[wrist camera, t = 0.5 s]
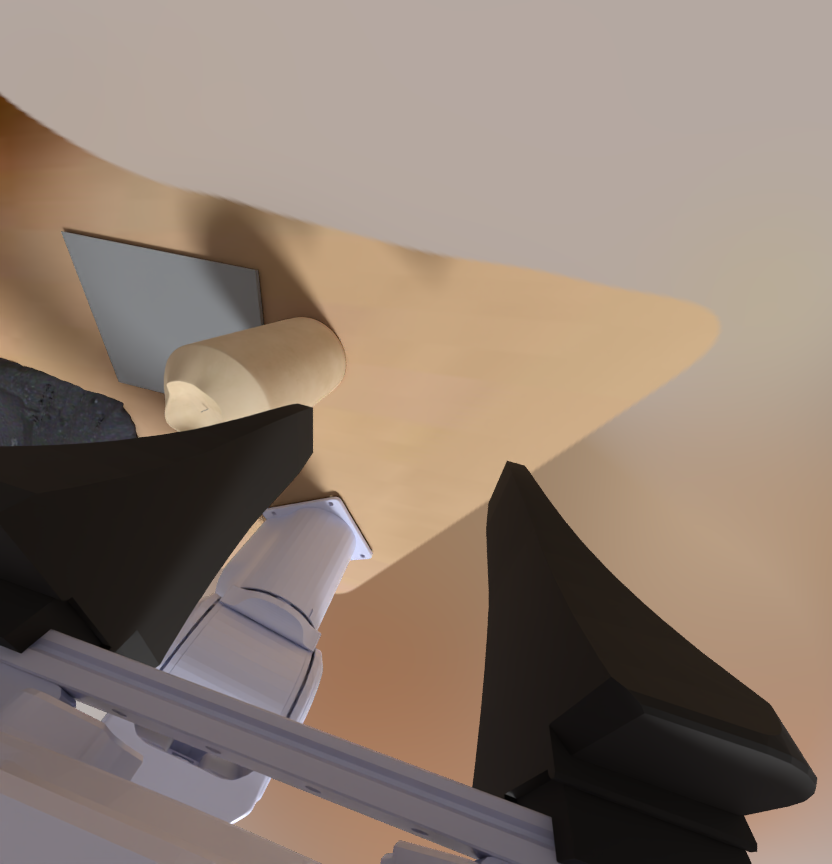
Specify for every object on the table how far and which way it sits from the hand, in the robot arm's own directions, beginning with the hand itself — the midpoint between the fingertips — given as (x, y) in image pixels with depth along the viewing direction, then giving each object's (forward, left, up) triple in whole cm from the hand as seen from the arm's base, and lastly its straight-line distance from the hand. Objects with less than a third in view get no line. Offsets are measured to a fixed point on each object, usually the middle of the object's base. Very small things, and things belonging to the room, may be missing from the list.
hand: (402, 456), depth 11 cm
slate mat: (-18, +9, -10) cm, 23 cm away
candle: (-9, +4, -11) cm, 14 cm away
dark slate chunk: (-41, +6, -11) cm, 43 cm away
